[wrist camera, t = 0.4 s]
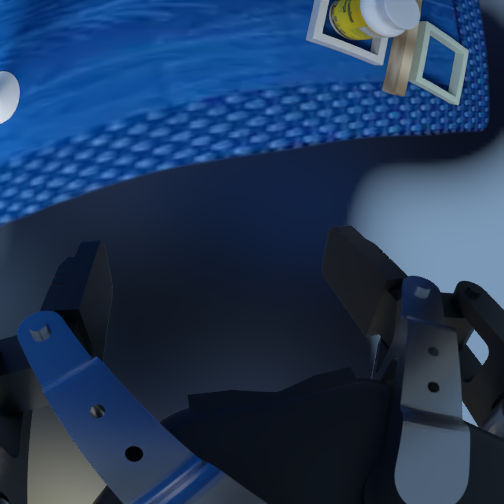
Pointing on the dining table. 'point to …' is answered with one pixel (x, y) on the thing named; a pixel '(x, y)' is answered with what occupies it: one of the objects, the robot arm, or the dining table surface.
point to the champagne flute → (8, 95)
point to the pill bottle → (373, 18)
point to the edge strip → (401, 60)
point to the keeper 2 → (420, 56)
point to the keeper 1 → (317, 37)
